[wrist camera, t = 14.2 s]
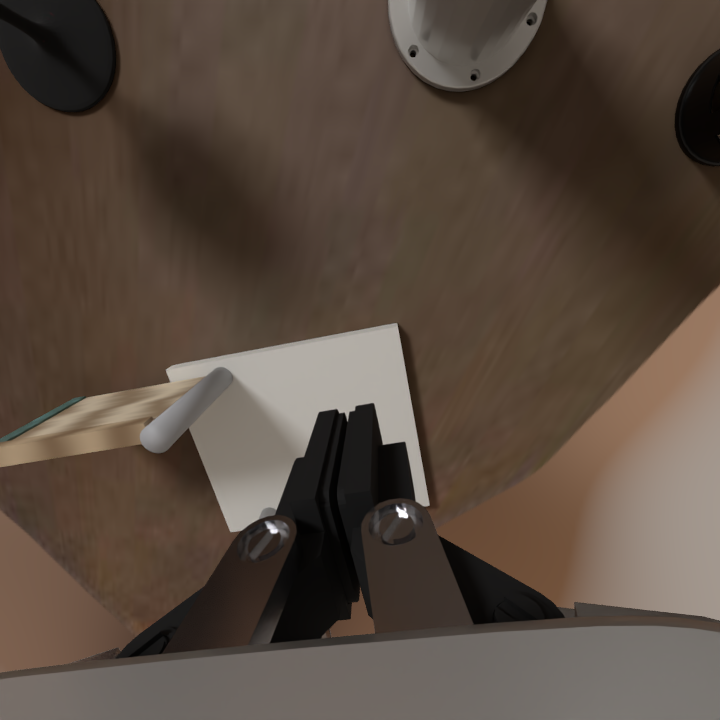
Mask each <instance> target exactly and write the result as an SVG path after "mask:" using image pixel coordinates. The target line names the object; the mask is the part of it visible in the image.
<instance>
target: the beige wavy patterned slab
mask: <svg viewBox="0 0 720 720" xmlns="http://www.w3.org/2000/svg"><path fill="white" fill-rule="evenodd" d="M204 377H206V376H204ZM204 377H198V378H193V379H187V380H182V381H176V382H171V383H165V384H160V385H154V386H149V387H143V388H138V389H132V390H127V391H121V392H115V393H110V394H104V395H99V396H93V397H88V398H86V397H85V396H84V397H78V398H74V399H72V400H70V401H68V402H66V403H65V404H63V405H61V406H59V407H57V408H56V409H54V410H52V411H50V412H48V413H46V414H45V415H43V416H41V417H39V418H37V419H36V420H34V421H32V422H30V423H28V424H26V425H25V426H23V427H21V428H19V429H17V430H16V431H14V432H12V433H10V434H8V435H6V436H5V437H3V438H1V439H0V467H4V466H10V465H16V464H22V463H28V462H34V461H41V460H47V459H53V458H59V457H65V456H71V455H77V454H84V453H90V452H96V451H102V450H108V449H114V448H120V447H127V446H133V445H139V444H142V443H141V441H140V433H141V431H142V430H143V429H144V428H145V427H146V426H147V425H149V424H150V423H151V422H152V421H153V420H155V419H156V418H157V417H158V416H159V415H161V414H162V413H163V412H164V411H165V410H166V409H168V408H169V407H170V406H171V405H172V404H174V403H175V402H176V401H177V400H178V399H180V398H181V397H182V396H183V395H184V394H185V393H187V392H188V391H189V390H190V389H191V388H193V387H194V386H195V385H196V384H197V383H199V382H200V381H201V380H202V379H203V378H204Z"/></svg>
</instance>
